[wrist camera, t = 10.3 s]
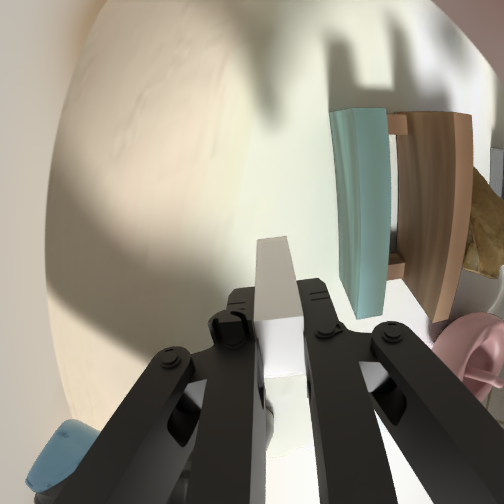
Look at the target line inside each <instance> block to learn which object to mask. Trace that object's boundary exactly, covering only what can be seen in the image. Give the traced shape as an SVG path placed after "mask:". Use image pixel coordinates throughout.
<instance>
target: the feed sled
mask: <svg viewBox="0 0 504 504" xmlns="http://www.w3.org/2000/svg"><path fill="white" fill-rule="evenodd" d="M394 113H395V114H386V108H349V109H344V110H339V111H334V112H329V115H330V123H331V131H332V140H333V150H334V160H335V171H336V184H337V200H338V220H339V265H340V274H339V277H340V280H341V282H342V284H343V287H344V289H345V291H346V294H347V296H348V299H349V301H350V304H351V306H352V309H353V311H354V314H355V316H356V319H363V318H369V317H375V316H380V315H382V312H383V305H384V297H385V289H386V281H388V280H394V279H400V278H401V279H402V280H403V281H404V283H405V284H406V285H407V287H408V288H409V290H410V291H411V292H412V294H413V295H414V297H415V298H416V300H417V301H418V302H419V304H420V305H421V307H422V308H423V310H424V311H425V313H426V314H427V316H428V317H429V319H430V320H431V322H432V323H435V322H439V321H443V320H447V319H448V318H449V315H450V311H451V308H452V305H453V301H454V297H455V294H456V290H457V286H458V282H459V277H460V273H461V268H462V264H463V259H464V253H465V248H466V242H467V235H468V228H469V220H470V211H471V201H472V186H473V129H472V115H469V114H463V113H457V112H436V111H413V112H394ZM389 134H395V135H397V148H398V172H399V209H398V233H397V248H396V253H389V245H390V225H391V168H390V148H389Z"/></svg>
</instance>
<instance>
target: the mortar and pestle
mask: <svg viewBox="0 0 504 504" xmlns="http://www.w3.org/2000/svg"><path fill="white" fill-rule="evenodd" d="M432 351H433V352H434V353H435V354H436V355H437V356H438V357H439V358H440V359H441V360H442V361H443V362H444V363H445V365H446V366H447V367H448V368H449V369H450V370H451V371H452V372H453V373H454V374H455V375H456V376H457V377H458V378H459V379H460V380H461V381H462V383H463V384H464V385H465V386H466V387H467V388H468V389H469V390H470V391H471V392H472V393H473V395H474V396H475V397H476V398H477V399H478V400H479V401H480V402H482V401H483V400H484V399H485V397H486V396H487V394H488V393H489V392H490V390H491V388H492V386H495V387H497V388H502V387H503V385H504V380H502V379H500V378H498V375H499V373H500V371H501V368H502V366H503V363H504V321H503V320H502V319H500V318H499V317H497V316H495V315H493V314H490V313H485V312H475V313H470V314H466V315H464V316H462V317H459V318H458V319H456V320H455V321H453V322H452V323H450V324H449V325H448V326H447V327H446V328H445V329H444V330H443V331H442V333H441V334H440V335H439V337H438V338H437V340H436V342H435V343H434V345H433V348H432Z"/></svg>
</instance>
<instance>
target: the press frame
mask: <svg viewBox="0 0 504 504" xmlns="http://www.w3.org/2000/svg"><path fill="white" fill-rule="evenodd" d="M490 187H491V188H492V190H493V191H494V192H495V193H496V194H497V195H498V196H499V197H501V198H502V199H503V200H504V149H498V148H491V165H490Z"/></svg>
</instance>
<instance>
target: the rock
mask: <svg viewBox="0 0 504 504" xmlns="http://www.w3.org/2000/svg"><path fill="white" fill-rule="evenodd" d="M502 265H504V200H503V199H502V198H501V197H499V196H498V195H497V194H496V193H495V192H494V191H493V190H492V188H491V187H490V186H489V184H488V183H487V181H486V180H485V179H484V177H483V176H482V175H481V174H480V173H479V172H478V170H477V169H476V168H475V167H474V166H473V186H472V201H471V211H470V220H469V228H468V235H467V242H466V248H465V253H464V259H463V264H462V268H463V269H465V270H468V271H470V272H474V273H477V274H480V275H484V276H485V277H488V278H491V279H498V276H499V269H500V267H501V266H502Z"/></svg>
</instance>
